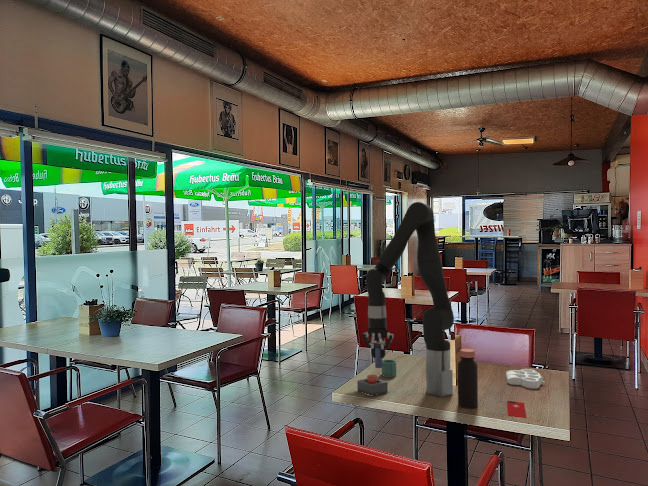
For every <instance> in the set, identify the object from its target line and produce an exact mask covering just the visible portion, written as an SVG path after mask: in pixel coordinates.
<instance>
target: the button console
mask: <svg viewBox="0 0 648 486" xmlns="http://www.w3.org/2000/svg"><path fill="white" fill-rule="evenodd" d="M388 385H389V384H388V381H385V380H383V379H380V378H378V377H377V383H374V384H370V383H367V378H364V379H358V380H357V385H356V386H357V387H356V388H357V391H358V392H359V391H361V392H360V393H362V392H363V393H362V394H364V393H366V394H369V395H375V396H377V395H376V394H379V395H382V394H381V393H383V394H386V392H387V393H389V391H388ZM366 394H365V395H366ZM369 395H368V396H369Z"/></svg>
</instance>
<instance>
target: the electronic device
mask: <svg viewBox="0 0 648 486" xmlns="http://www.w3.org/2000/svg"><path fill="white" fill-rule="evenodd" d="M506 408H507V409H506V410H507V416H508V417H513V416H514V417H515V418H521V419H522V418H523V419H526V418H527V413H526V407H525V402H520V401H512V400H511V401H510V400H507V401H506Z"/></svg>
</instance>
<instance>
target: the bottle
mask: <svg viewBox="0 0 648 486" xmlns="http://www.w3.org/2000/svg"><path fill="white" fill-rule="evenodd" d="M459 351H460V352H459V353H460V354H459V356H460V361H459V362H457V404H458V406H459V407H461V408H464V409H467V410H469V409H471V410H473V409H476V408H477V407H478V405H479V402H478V400H479V397H478V395H479V392H478V386H479V385H478V383H479V382H478V381H479V379H478V363H477V362H476V361H475V360H474V359H475V355H476V354H475V353H476V352H475V349H472V348H461V349H460V350H459Z"/></svg>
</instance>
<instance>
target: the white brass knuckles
mask: <svg viewBox="0 0 648 486" xmlns="http://www.w3.org/2000/svg"><path fill="white" fill-rule="evenodd" d="M505 373H506V381H507V382H506V383H508V384H509V385H515V386H516V385H517V386H522V387H524V388H527V389H531V390H532V389H533V390H534V389H539V388H540V386H542V384H544V383H546V381H544V380H543V379H544V376H542V375H541V373H539V372H537V370H534V369H532V368H531V369H530V368H522V369H519V370H517V369H513V370H512V369H511V370H507V371H506V372H505Z"/></svg>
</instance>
